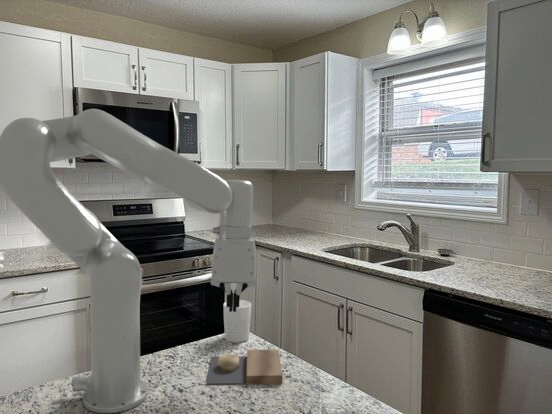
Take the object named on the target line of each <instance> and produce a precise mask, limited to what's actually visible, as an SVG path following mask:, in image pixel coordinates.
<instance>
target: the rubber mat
mask: <svg viewBox="0 0 552 414" xmlns="http://www.w3.org/2000/svg"><path fill="white" fill-rule="evenodd" d="M237 356H238V355H237ZM219 357H220V356H211V357H210V358H211V359H210V362H209V363H210V364H209V369H208V373H207V377H206V382H205V385H206V386H210V385H212V386H213V385H215V386H216V385H218V386H221V385H222V386H225V385H226V386H228V385H248V384H247V355H246V356H241V355H240V356H238V357H239V368H238V369H237V370H235V371H230V372H226V371H221V370H220V369H219V368H218V358H219Z"/></svg>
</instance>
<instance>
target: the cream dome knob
mask: <svg viewBox="0 0 552 414" xmlns="http://www.w3.org/2000/svg"><path fill="white" fill-rule="evenodd" d="M218 357H219V358H218V368H219V369H220V370H221V371H226V372H230V371H235V370H237V369H238V368H239V357H238V355H236V354H223V355H221V356H218Z"/></svg>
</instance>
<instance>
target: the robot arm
mask: <svg viewBox="0 0 552 414" xmlns="http://www.w3.org/2000/svg"><path fill="white" fill-rule="evenodd" d="M89 155H93V156H95V157H97V158H98V159H100V160H102V161H104V162H106V163H108V164H110V165H111V166H113V167H115V168H117V169H118V170H120V171H123V172H124V173H126V174H127V175H130V176H131V177H133V178H135V179H137V180H138V181H141V182H143V183H146V184H149V185H151V186H154V187H158V188H161V189H164V190H167V191H168V192H171V193H173V194H175V195H177V196H179V197H181V198H183V199H184V201H185V202H186V204H187V205H188V206H189V207H190V208H192V209H193V210H196V211H198V212H204V213H208V214H212V215H213V214H214V215H215V214H216V215H217V214H219V223H218V224H219V225H218V226H215V227H213V228H212V234H217V235H218V237H216V238H215V241H214V245H213V252H212V260H211V261H212V263H211V280H210V285H211V286H215V287H218V288H220V289H221V290H223V292H224V293H225V294H226V302H227V307H229V312H231V311H232V310H233V311H234V312H236V307H239V301H240V300H241V298H240V297H241V294H242V293H243V292H244V291H245V290H246V289H248V288H252V287H255V286H256V287H257V278H256V277H257V275H256V274H257V250H256V248H257V247H256V242H255V239H254V238H253V237H252V232H253V231H252V228H253V226H252V225H253V220H252V219H253V205H254V204H253V203H254V202H253V200H254V185H253V183H252V182H251V181H249V180H243V179H242V180H241V179H226V180H225V179H223V178H221V177H220V176H219V175H217V174H216V173H214V172H212V171H210V170H208V169H206V168H205V167H203V166H202V165H200V164H198V163H196V162H195V161H192V160H190V159H188V158H186V157H184V156H183V155H181V154H179V153H177V152H175V151H173V150H171V149H169V148H168V147H166V146H164V145H162V144H160V143H158V142H157V141H155V140H153V139H151V138H150V137H148V136H146V135H144V134H143V133H142V132H140V131H138V130H136V129H134V128H133V127H132V126H130V125H129V124H127V123H125V122H123V121H122V120H120V119H118V118H117V117H115V116H114V115H112V114H110V113H108V112H106V111H104V110H102V109H98V108H89V109H85V110H83V111H81V112H80V113H78V114H76V115H72V116H67V117H61V118H55V119H46V120H39V119H37V118H33V117H21V118H20V117H19V118H17V119H14V120H13V121H11V122H10V123H9V124H7V125H6V126H5V127H4V129H3V130H2V131H1V134H0V187H1V190H2V191H3V192H4V194H5V195H6V196H7V198H8V199H9V200H10V201H11V203H13V205H14V206H15V207H16V208H17V209H18V210H20V211H21V213H22V214H24V215H25V217H26V218H28V219H29V221H30V222H31V223H32V224H33V225H34V226H35V227H36V228H37V229H38V230H39V231H40V232H41V233H42V234H43V235H44V236H45V237H46V238H47V239H48V240H49V241H50V242H51V243H50V244H52V246H54V248H56V249H57V251H59V252H60V253H63V254H65V255H66V256H67V257H69V259H70V260H72V261H73V263H74V264H76V266H78V267H79V268H80V269H81V270H82V271H83V272H84V273H85V274H86V275H87V276H88V278H89V282H90V283H89V284H90V295H89V296H90V297H89V298H90V300H89V303H90V304H89V326H90V327H89V328H90V364H91V365H90V367H91V368H90V371H91V374H89V375H88V376H86V377H85V376H73V377H72V379H71V383H70V385H71V386H72V391H73V392H84V395H83V396H82V397H83V399H82V401H83V402H82V403H83V406H84V407H85V408H86V409H87V410H88V411H91V412H94V413H97V414H113V413H114V414H115V413H119V412H120V413H121V412H124V411H127V410H130V409H133V408H135V407H137V406H138V405H140V404H141V403H143V402H144V401H145V400H146V398H147V397H148V395H149V387H148V385H147V383H146V382H144V381H143V380H141V324H140V323H141V322H140V318H141V317H140V314H141V313H140V307H141V305H140V304H141V293H142V292H141V291H142V290H141V289H142V283H143V282H142V281H143V274H142V267H141V263H140V262H139V259H138V258H137V256H136V255H135V253H133V252H132V251H131V250H129V249H128V248H126V247H125V246H124V245H123V244H122V243H121V242H120V241H119V240H118V239H117V238H116V237H115V236H114V235H113V234H112V233H111V232H110V231H109V230H108V229H107V228H106V226H105V225H103V223H102V222H100V221H99V219H98V217H97V216H96V215H95V213H93V211H92V210H90V209H88V208H86V207H85V206H84V205H83V204H82V203H81V202H80V201H79V200H78V199H77V198H76V197H75V196H74V195H73V194H72V193H71V192H70V191H69V189H67V186H65V185H64V184H63V183H62V182H61V181H60V180H59V179H58V177H57V176H56V175H55V173H54V171H53V170H52V167H51V163H54V162H59V161H66V160H70V159H76V158H81V157H84V156H89ZM232 284H236V289H234V292H233V289H232Z"/></svg>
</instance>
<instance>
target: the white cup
mask: <svg viewBox="0 0 552 414" xmlns="http://www.w3.org/2000/svg"><path fill="white" fill-rule="evenodd" d="M251 314H252V302H250V301H248V300H244V299H240V301H239V307H236V312H234V311H233V310H232V311H231V312H229V307H227V301H225V302H224V303H223V326H224V336H225V337H224V339H225V340H226V342H231V343H243V342H245V341H247V340H249V339H250V328H251V327H250V326H251V316H252V315H251Z"/></svg>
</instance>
